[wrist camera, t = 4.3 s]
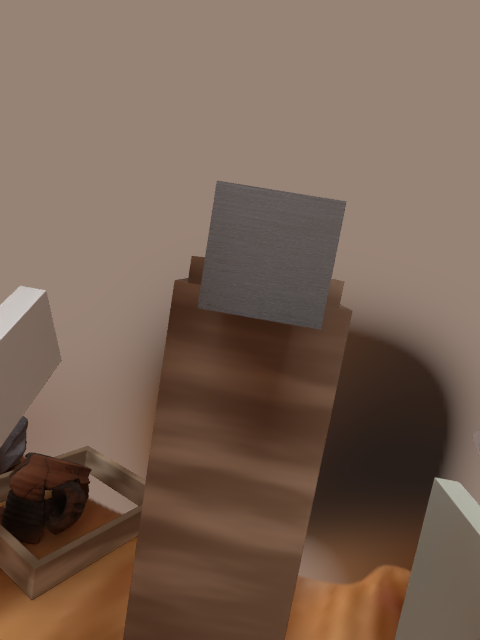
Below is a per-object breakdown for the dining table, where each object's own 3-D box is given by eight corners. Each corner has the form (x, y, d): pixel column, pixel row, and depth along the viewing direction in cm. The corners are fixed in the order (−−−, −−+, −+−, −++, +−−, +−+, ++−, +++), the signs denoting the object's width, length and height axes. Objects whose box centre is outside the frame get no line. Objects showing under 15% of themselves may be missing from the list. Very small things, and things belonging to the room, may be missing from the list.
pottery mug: (-30, 522, 45) (4, 445, 48) (47, 529, 52) (72, 461, 55) (28, 555, 38) (63, 461, 41) (108, 558, 45) (133, 478, 48)
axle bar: (321, 329, 13) (346, 201, 13) (197, 308, 13) (216, 180, 13) (286, 286, 39) (293, 243, 38) (243, 279, 39) (250, 236, 39)
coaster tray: (-50, 516, 45) (-48, 490, 44) (85, 465, 59) (88, 445, 58) (31, 600, 36) (34, 569, 36) (166, 518, 50) (170, 495, 50)
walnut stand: (259, 761, 27) (358, 284, 23) (110, 729, 28) (178, 253, 23) (262, 579, 43) (321, 275, 39) (167, 560, 44) (214, 257, 39)
